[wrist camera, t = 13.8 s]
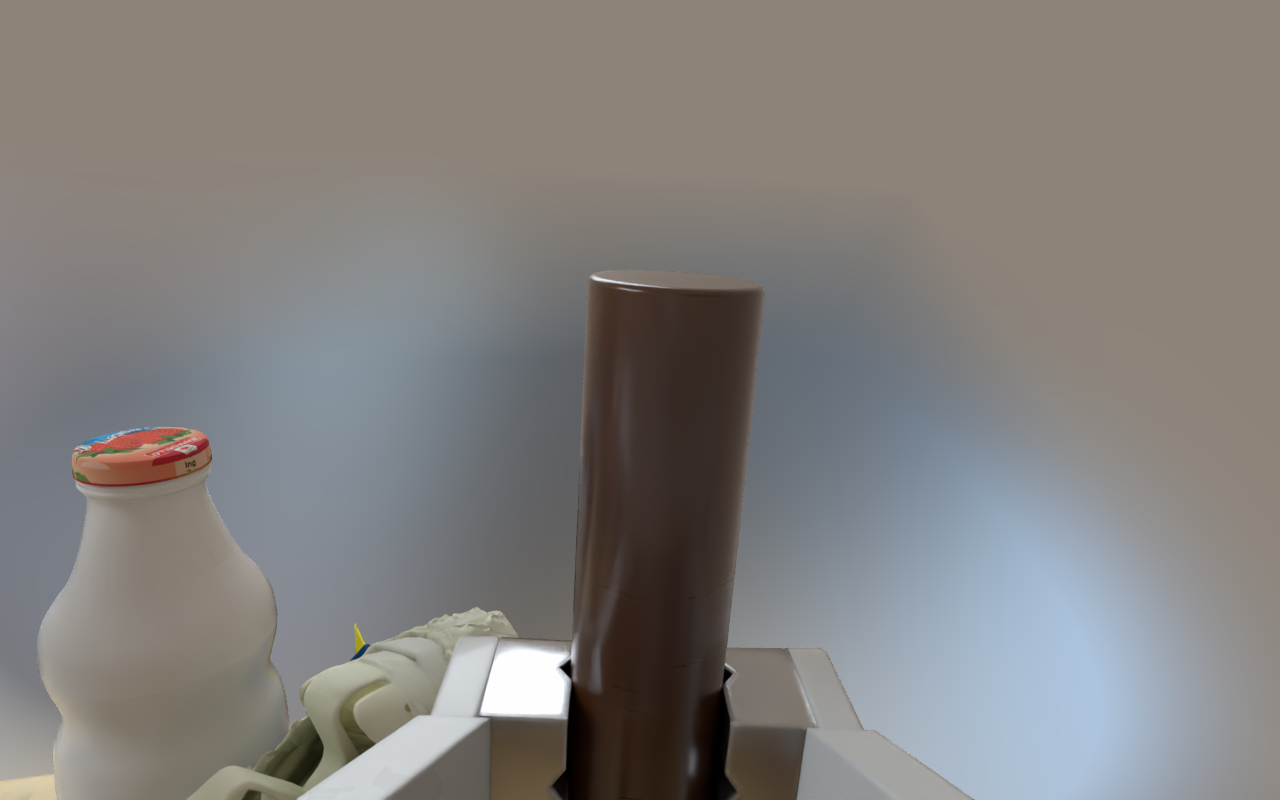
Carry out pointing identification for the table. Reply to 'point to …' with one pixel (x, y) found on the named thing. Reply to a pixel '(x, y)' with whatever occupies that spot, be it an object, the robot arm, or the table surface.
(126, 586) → the fruit juice
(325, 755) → the ballet flat
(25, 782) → the table surface
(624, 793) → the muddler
